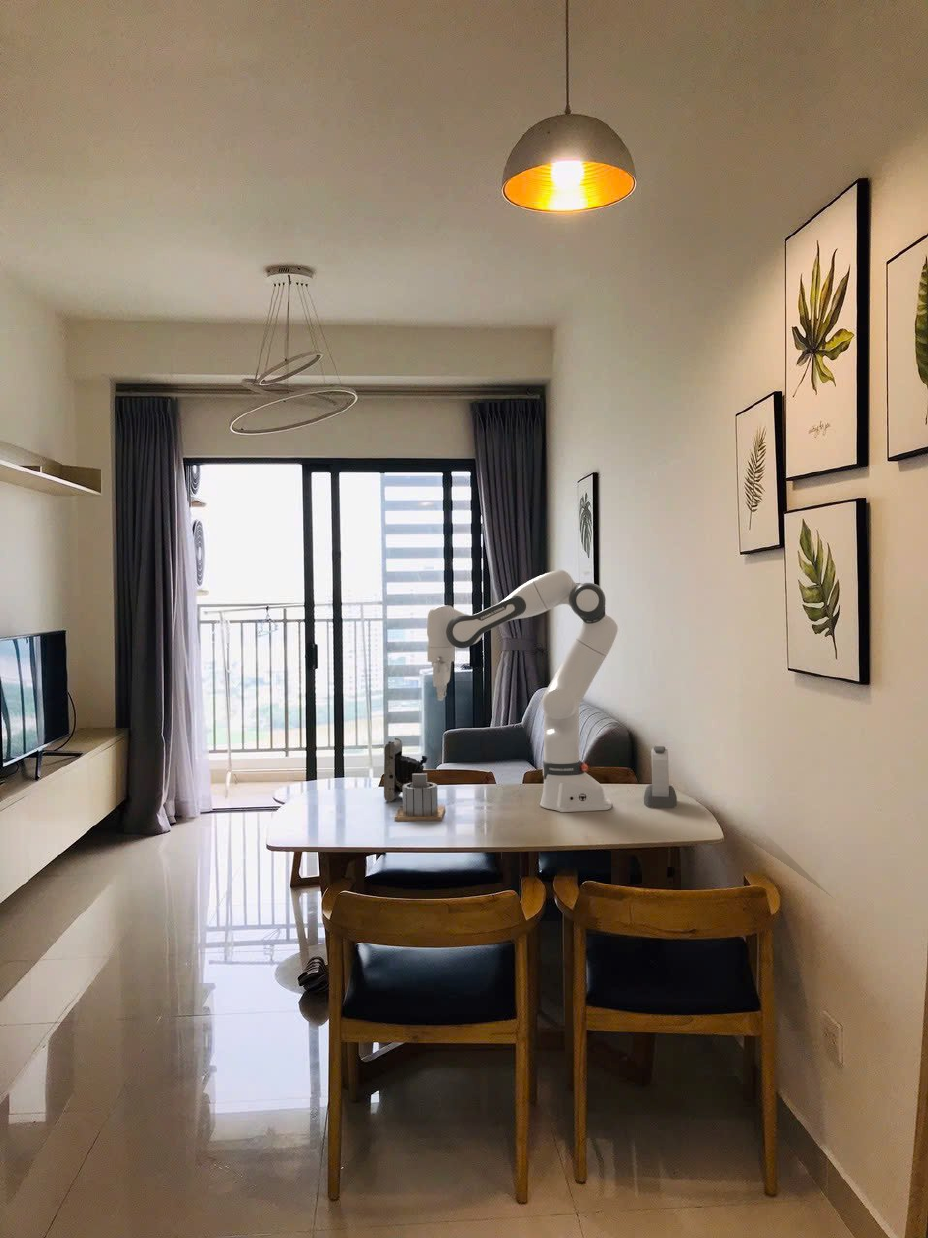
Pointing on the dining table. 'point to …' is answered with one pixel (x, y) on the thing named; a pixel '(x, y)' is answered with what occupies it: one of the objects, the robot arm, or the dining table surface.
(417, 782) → the rotary knob
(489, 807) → the dining table surface
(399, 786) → the vintage camera
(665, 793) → the grey piece
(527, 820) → the dining table surface
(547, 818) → the dining table surface
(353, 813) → the dining table surface
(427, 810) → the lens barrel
